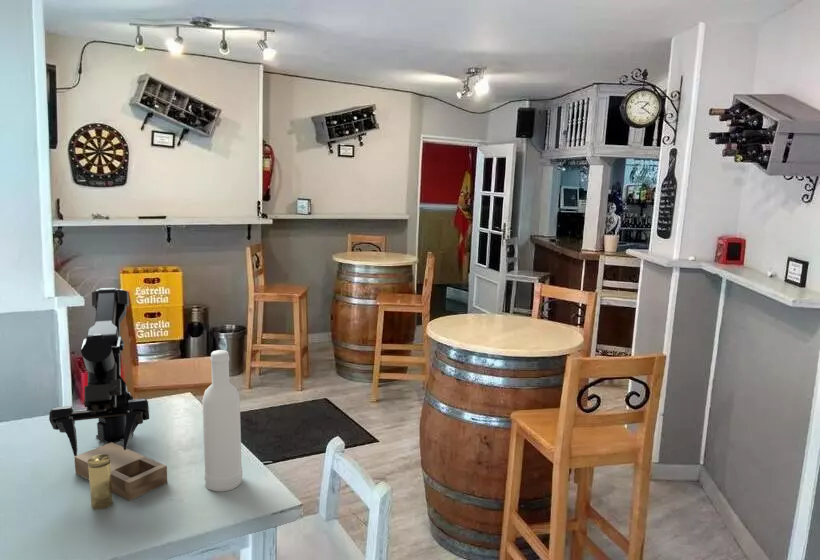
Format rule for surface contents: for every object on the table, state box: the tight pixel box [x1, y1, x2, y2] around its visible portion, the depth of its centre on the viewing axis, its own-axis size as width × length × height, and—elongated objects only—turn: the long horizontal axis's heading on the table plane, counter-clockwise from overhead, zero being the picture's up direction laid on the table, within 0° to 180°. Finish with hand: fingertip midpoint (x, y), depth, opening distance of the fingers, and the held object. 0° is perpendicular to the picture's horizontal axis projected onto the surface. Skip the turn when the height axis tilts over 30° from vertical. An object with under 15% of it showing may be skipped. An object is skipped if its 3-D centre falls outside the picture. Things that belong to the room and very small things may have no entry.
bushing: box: [88, 454, 114, 510], centre depth 128 cm, size 4×4×10 cm
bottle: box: [201, 349, 243, 492], centre depth 136 cm, size 8×8×30 cm
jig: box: [73, 442, 168, 501], centre depth 139 cm, size 9×20×4 cm, turn 58°
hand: (100, 452), depth 130 cm, fingers open, 9 cm apart
